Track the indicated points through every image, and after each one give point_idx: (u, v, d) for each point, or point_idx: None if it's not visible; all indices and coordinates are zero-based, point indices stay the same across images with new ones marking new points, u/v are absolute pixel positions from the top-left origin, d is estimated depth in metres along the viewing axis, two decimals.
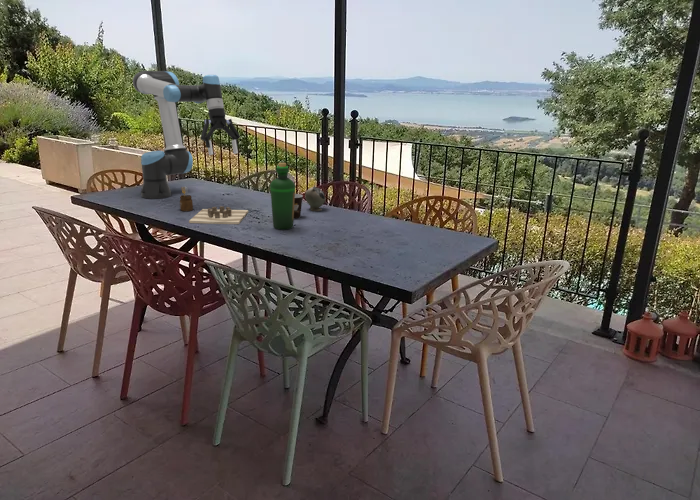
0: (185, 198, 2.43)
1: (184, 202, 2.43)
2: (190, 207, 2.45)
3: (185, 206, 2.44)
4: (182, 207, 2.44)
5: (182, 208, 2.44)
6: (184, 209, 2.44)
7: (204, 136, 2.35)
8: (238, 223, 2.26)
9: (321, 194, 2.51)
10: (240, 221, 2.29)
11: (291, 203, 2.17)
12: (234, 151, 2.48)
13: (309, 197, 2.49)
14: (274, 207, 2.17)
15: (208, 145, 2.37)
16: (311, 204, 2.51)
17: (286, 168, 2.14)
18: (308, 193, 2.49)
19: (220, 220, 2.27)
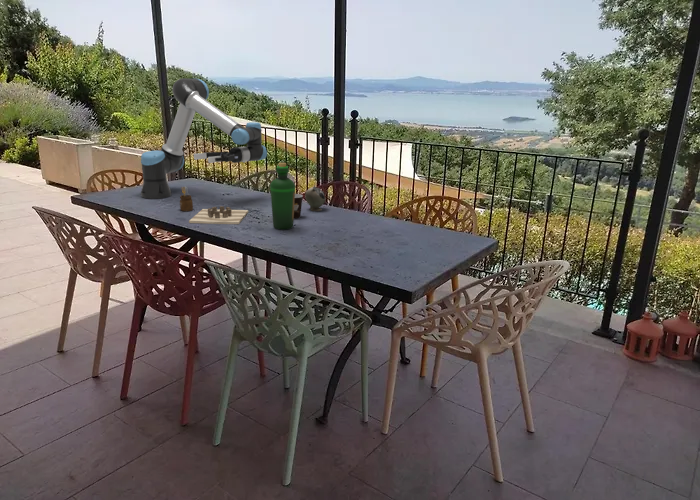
0: (185, 198, 2.43)
1: (184, 202, 2.43)
2: (190, 207, 2.45)
3: (185, 206, 2.44)
4: (182, 207, 2.44)
5: (182, 208, 2.44)
6: (184, 209, 2.44)
7: (227, 161, 2.46)
8: (238, 223, 2.26)
9: (321, 194, 2.51)
10: (240, 221, 2.29)
11: (291, 203, 2.17)
12: (196, 155, 2.51)
13: (309, 197, 2.49)
14: (274, 207, 2.17)
15: (217, 161, 2.44)
16: (311, 204, 2.51)
17: (286, 168, 2.14)
18: (308, 193, 2.49)
19: (220, 220, 2.27)
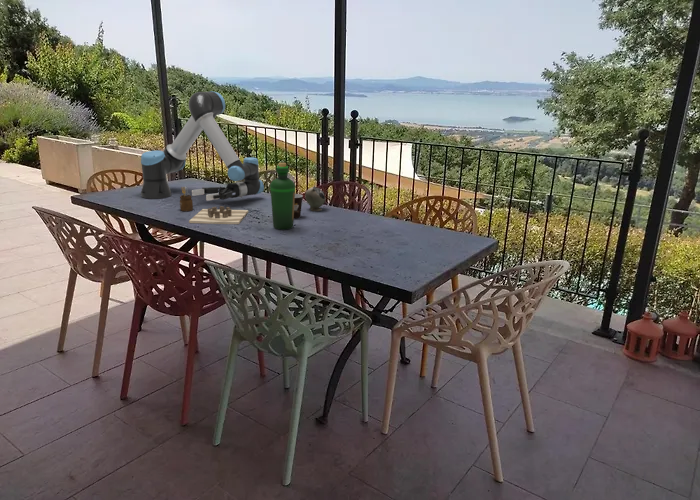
0: (185, 198, 2.43)
1: (184, 202, 2.43)
2: (190, 207, 2.45)
3: (185, 206, 2.44)
4: (182, 207, 2.44)
5: (182, 208, 2.44)
6: (184, 209, 2.44)
7: None
8: (238, 223, 2.26)
9: (321, 194, 2.51)
10: (240, 221, 2.29)
11: (291, 203, 2.17)
12: (194, 192, 2.54)
13: (309, 197, 2.49)
14: (274, 207, 2.17)
15: None
16: (311, 204, 2.51)
17: (286, 168, 2.14)
18: (308, 193, 2.49)
19: (220, 220, 2.27)
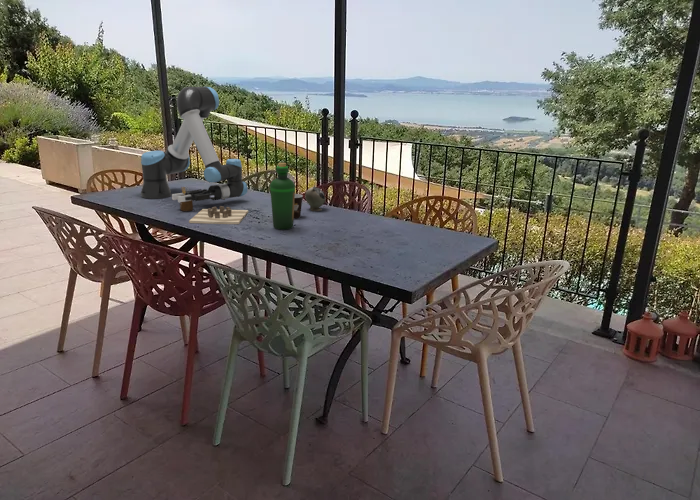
0: None
1: (184, 202, 2.43)
2: (190, 207, 2.45)
3: (185, 206, 2.44)
4: (182, 207, 2.44)
5: (182, 208, 2.44)
6: (184, 209, 2.44)
7: (197, 200, 2.44)
8: (238, 223, 2.26)
9: (321, 194, 2.51)
10: (240, 221, 2.29)
11: (291, 203, 2.17)
12: (174, 196, 2.44)
13: (309, 197, 2.49)
14: (274, 207, 2.17)
15: (187, 200, 2.42)
16: (311, 204, 2.51)
17: (286, 168, 2.14)
18: (308, 193, 2.49)
19: (220, 220, 2.27)
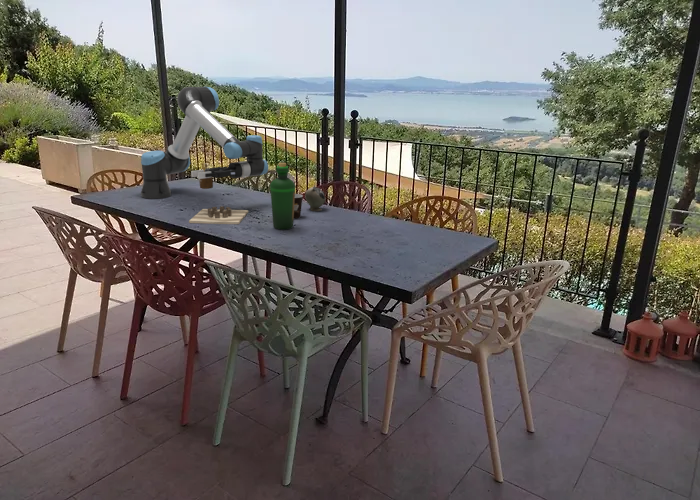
0: None
1: (204, 179, 2.32)
2: (210, 184, 2.34)
3: (205, 183, 2.33)
4: (202, 184, 2.33)
5: (202, 185, 2.33)
6: (204, 186, 2.33)
7: None
8: (238, 223, 2.26)
9: (321, 194, 2.51)
10: (240, 221, 2.29)
11: (291, 203, 2.17)
12: (194, 173, 2.33)
13: (309, 197, 2.49)
14: (274, 207, 2.17)
15: (207, 176, 2.31)
16: (311, 204, 2.51)
17: (286, 168, 2.14)
18: (308, 193, 2.49)
19: (220, 220, 2.27)
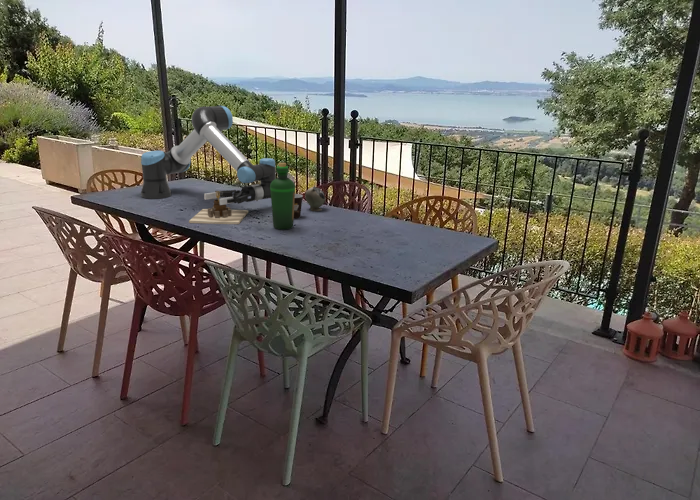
0: (219, 203, 2.31)
1: (218, 207, 2.32)
2: None
3: None
4: None
5: None
6: None
7: None
8: (238, 223, 2.26)
9: (321, 194, 2.51)
10: (240, 221, 2.29)
11: (291, 203, 2.17)
12: (207, 195, 2.36)
13: (309, 197, 2.49)
14: (274, 207, 2.17)
15: (229, 202, 2.29)
16: (311, 204, 2.51)
17: (286, 168, 2.14)
18: (308, 193, 2.49)
19: (220, 220, 2.27)
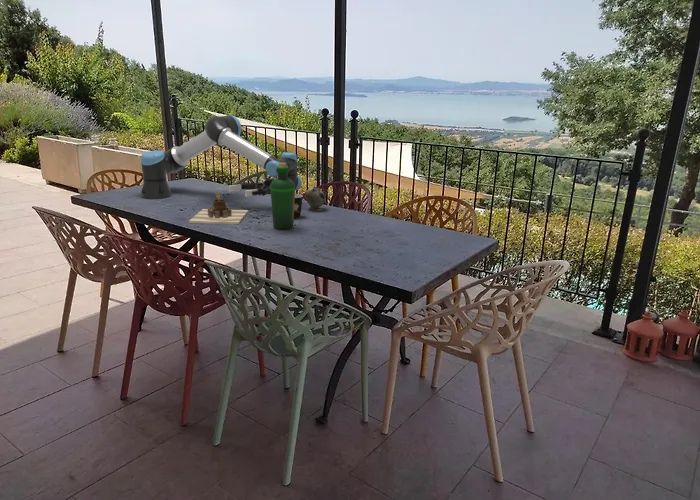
0: (219, 203, 2.32)
1: (218, 207, 2.32)
2: None
3: None
4: None
5: None
6: None
7: None
8: (238, 223, 2.26)
9: (321, 194, 2.51)
10: (240, 221, 2.29)
11: (291, 203, 2.17)
12: (231, 187, 2.44)
13: (309, 197, 2.49)
14: (274, 207, 2.17)
15: (254, 194, 2.37)
16: (311, 204, 2.51)
17: (286, 168, 2.14)
18: (308, 193, 2.49)
19: (220, 220, 2.27)
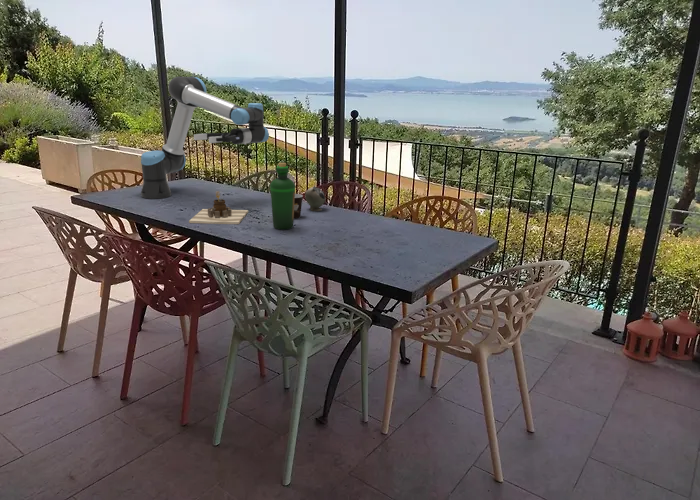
0: (219, 203, 2.32)
1: (218, 207, 2.32)
2: None
3: None
4: None
5: None
6: None
7: None
8: (238, 223, 2.26)
9: (321, 194, 2.51)
10: (240, 221, 2.29)
11: (291, 203, 2.17)
12: (196, 136, 2.44)
13: (309, 197, 2.49)
14: (274, 207, 2.17)
15: (218, 141, 2.37)
16: (311, 204, 2.51)
17: (286, 168, 2.14)
18: (308, 193, 2.49)
19: (220, 220, 2.27)
